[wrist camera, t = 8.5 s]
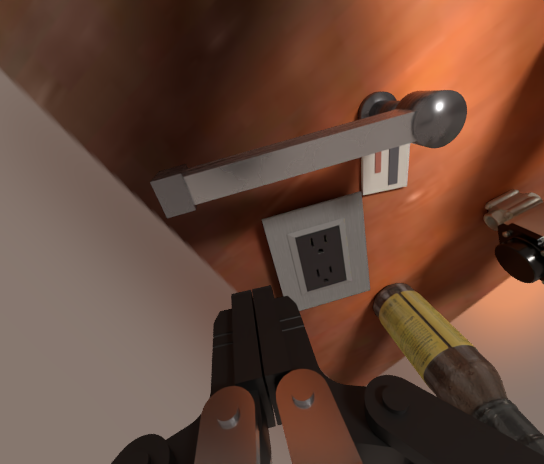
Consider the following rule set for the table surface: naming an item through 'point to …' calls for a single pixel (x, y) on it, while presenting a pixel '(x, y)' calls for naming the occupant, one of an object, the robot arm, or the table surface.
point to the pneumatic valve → (519, 234)
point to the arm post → (377, 104)
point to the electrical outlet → (320, 251)
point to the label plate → (385, 170)
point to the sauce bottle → (451, 363)
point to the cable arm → (314, 151)
